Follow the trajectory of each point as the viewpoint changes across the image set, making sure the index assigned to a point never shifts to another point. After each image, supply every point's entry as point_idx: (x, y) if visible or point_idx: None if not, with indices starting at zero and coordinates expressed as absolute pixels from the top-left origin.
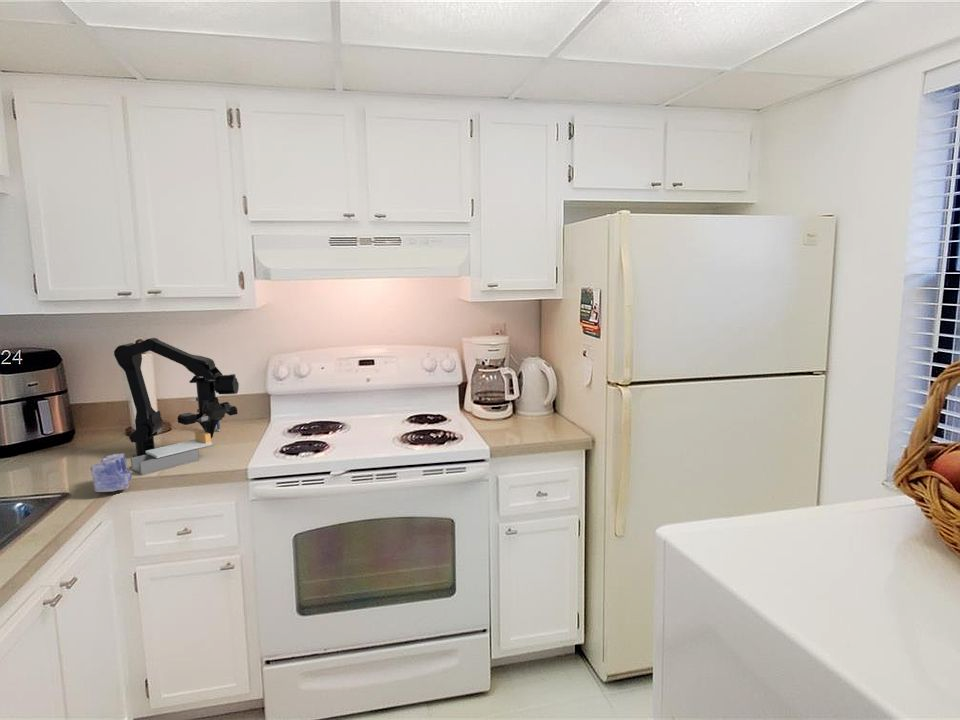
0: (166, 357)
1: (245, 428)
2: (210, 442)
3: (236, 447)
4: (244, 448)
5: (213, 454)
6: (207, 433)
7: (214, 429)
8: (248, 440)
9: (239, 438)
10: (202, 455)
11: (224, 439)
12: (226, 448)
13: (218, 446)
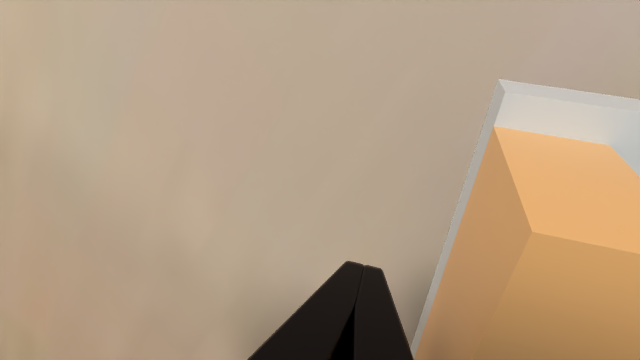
0: None
1: (10, 357)
2: (509, 125)
3: (153, 115)
4: (108, 10)
5: (401, 124)
6: (531, 319)
7: (258, 355)
8: (31, 184)
9: (72, 270)
10: None
11: (149, 330)
12: (224, 170)
13: (240, 264)
